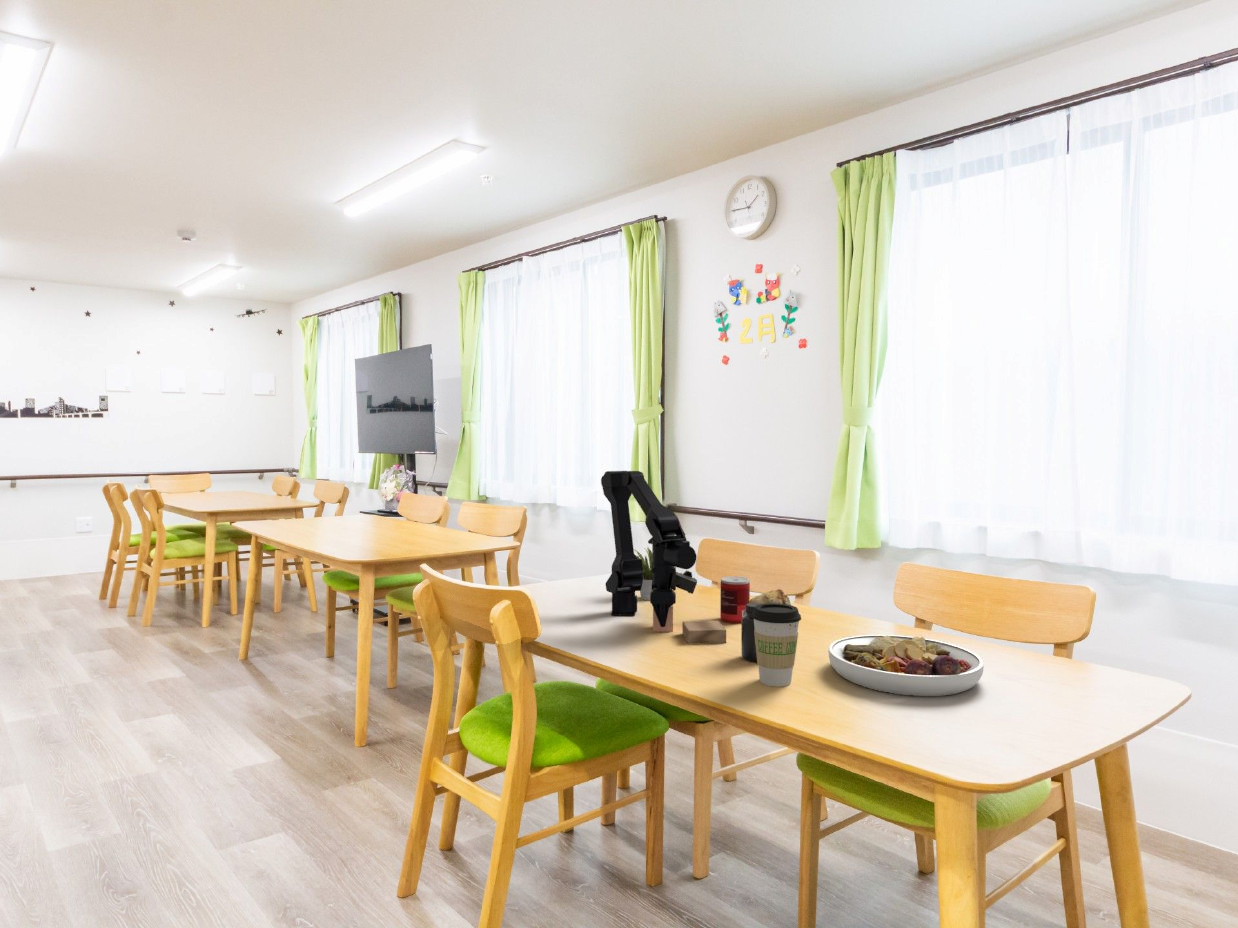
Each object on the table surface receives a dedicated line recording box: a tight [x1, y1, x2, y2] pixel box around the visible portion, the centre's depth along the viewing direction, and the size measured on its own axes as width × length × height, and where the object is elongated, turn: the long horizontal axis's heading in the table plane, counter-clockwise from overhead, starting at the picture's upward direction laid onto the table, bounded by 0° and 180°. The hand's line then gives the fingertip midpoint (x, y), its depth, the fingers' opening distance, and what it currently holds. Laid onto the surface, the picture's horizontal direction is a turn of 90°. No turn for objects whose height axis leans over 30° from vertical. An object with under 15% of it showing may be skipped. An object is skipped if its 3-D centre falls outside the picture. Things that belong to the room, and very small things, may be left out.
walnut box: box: [681, 620, 727, 645], centre depth 191 cm, size 9×9×4 cm
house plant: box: [634, 547, 653, 601], centre depth 235 cm, size 14×14×16 cm
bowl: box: [828, 634, 984, 697], centre depth 162 cm, size 30×30×8 cm
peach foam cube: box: [652, 604, 674, 633], centre depth 200 cm, size 5×5×6 cm
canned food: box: [719, 576, 751, 624], centre depth 209 cm, size 8×8×11 cm
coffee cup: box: [751, 603, 802, 688], centre depth 158 cm, size 10×10×15 cm
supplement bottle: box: [740, 603, 763, 663], centre depth 174 cm, size 7×7×12 cm
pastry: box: [749, 588, 792, 605], centre depth 212 cm, size 14×12×8 cm
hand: (663, 624), depth 200 cm, fingers closed on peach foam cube, 5 cm apart
